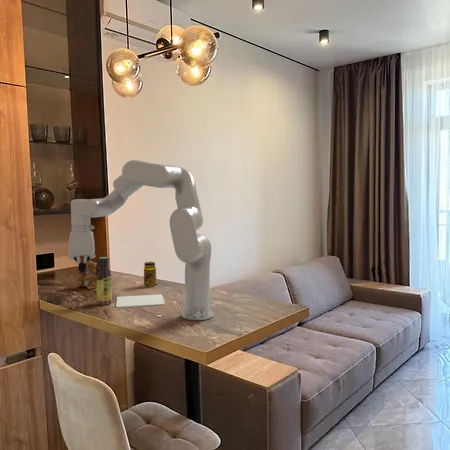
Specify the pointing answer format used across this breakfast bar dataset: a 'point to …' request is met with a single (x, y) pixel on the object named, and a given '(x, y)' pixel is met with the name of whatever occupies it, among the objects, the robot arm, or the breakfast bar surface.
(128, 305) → the mat
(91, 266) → the stuffed squirrel
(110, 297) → the sauce bottle
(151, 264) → the condiment
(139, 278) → the breakfast bar surface
